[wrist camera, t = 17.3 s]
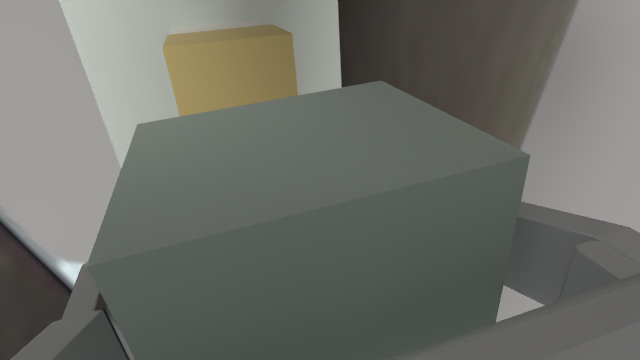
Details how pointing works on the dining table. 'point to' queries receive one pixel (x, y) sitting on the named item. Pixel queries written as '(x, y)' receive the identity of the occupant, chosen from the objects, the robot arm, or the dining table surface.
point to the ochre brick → (230, 67)
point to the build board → (144, 62)
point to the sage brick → (308, 229)
